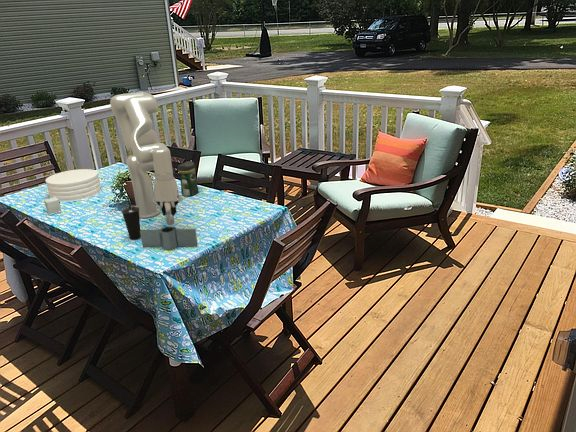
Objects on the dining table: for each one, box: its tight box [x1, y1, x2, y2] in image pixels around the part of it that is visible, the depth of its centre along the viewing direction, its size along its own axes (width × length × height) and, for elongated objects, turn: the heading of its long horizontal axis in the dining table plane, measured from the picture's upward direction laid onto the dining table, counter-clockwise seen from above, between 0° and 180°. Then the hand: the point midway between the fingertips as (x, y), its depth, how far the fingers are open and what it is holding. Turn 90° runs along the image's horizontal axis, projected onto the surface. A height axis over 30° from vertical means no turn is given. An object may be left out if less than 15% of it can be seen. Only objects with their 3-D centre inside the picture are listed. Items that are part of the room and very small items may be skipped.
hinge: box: [140, 225, 199, 251], centre depth 203 cm, size 24×7×8 cm, turn 87°
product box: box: [43, 197, 62, 215], centre depth 249 cm, size 6×6×7 cm
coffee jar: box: [177, 160, 199, 197], centre depth 265 cm, size 10×8×19 cm
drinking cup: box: [121, 195, 141, 241], centre depth 212 cm, size 8×8×20 cm
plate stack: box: [45, 168, 102, 201], centre depth 274 cm, size 28×28×12 cm
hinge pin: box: [164, 202, 176, 226], centre depth 212 cm, size 5×5×15 cm
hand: (169, 214), depth 213 cm, fingers closed on hinge pin, 3 cm apart
